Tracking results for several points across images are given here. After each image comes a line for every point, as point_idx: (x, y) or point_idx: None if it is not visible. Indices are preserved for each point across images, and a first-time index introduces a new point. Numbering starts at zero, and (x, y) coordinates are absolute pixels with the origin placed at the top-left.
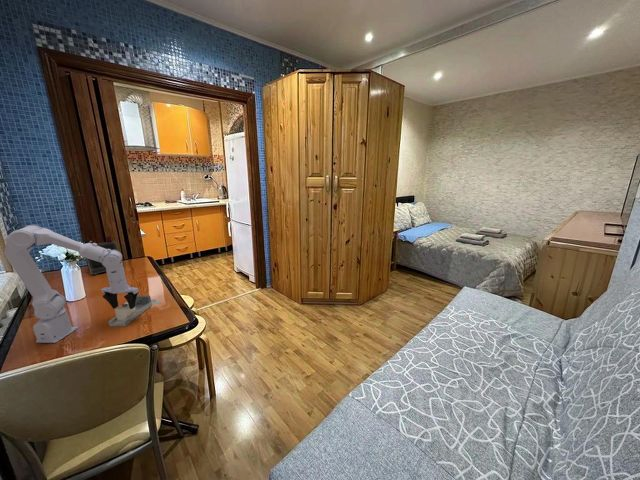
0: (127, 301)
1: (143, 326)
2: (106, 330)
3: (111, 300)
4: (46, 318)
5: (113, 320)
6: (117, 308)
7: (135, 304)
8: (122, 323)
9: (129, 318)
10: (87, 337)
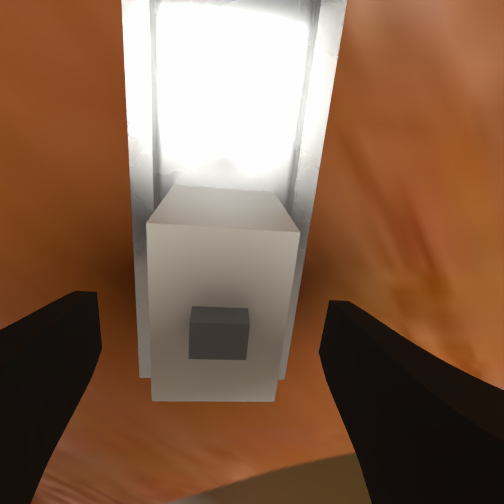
0: (372, 495)
1: None
2: None
3: (22, 486)
4: None
5: None
6: (166, 379)
7: (152, 6)
8: None
9: (291, 324)
10: (107, 444)
